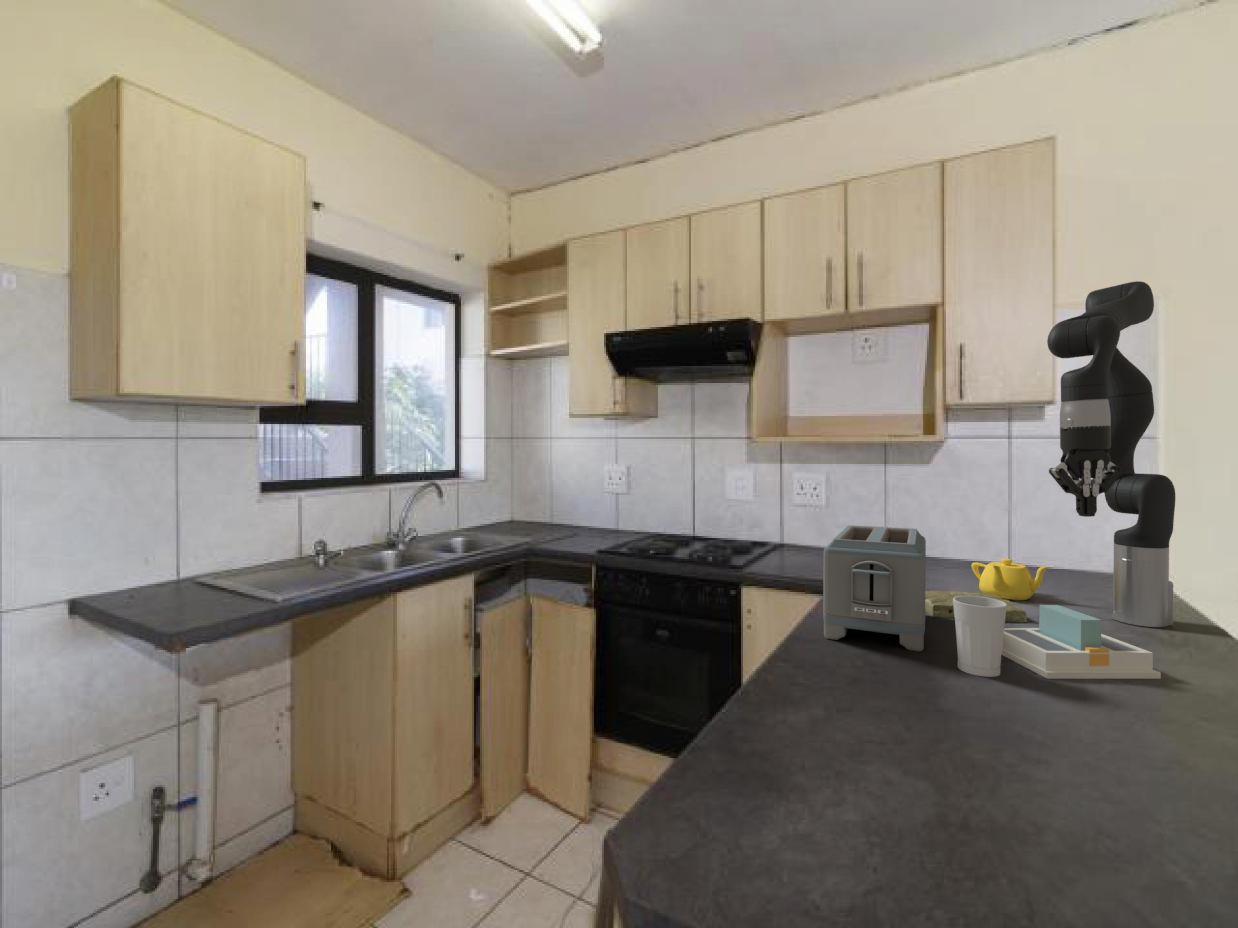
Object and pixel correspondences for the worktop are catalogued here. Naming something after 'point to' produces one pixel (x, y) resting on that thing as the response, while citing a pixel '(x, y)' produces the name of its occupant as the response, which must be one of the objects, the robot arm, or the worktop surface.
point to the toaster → (876, 583)
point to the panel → (1069, 627)
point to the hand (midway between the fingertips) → (1086, 515)
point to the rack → (1077, 657)
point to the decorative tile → (943, 600)
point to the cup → (979, 634)
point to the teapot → (1008, 579)
